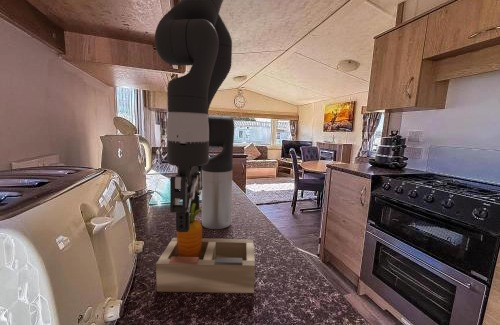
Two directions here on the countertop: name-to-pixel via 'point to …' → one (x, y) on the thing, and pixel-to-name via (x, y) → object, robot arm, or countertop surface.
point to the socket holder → (208, 267)
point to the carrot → (191, 237)
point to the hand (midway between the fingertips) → (189, 221)
